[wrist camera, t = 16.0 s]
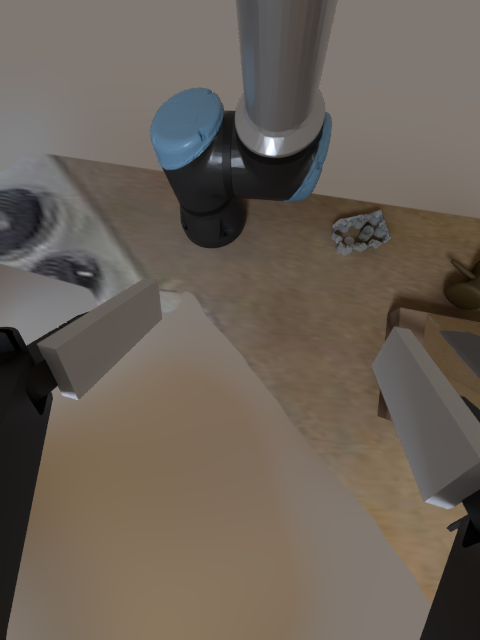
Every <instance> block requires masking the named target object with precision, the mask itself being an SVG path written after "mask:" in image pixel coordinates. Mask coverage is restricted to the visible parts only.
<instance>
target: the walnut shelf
mask: <svg viewBox="0 0 480 640" xmlns="http://www.w3.org/2000/svg"><path fill="white" fill-rule="evenodd" d="M427 314H430V315H436V316H443V315H438V314H433V313H427V312H422V311H416V310H411V309H406V308H398V309H396V310H394V311H392V312H390V313H388V318H387V328H386V338H385V341H386V339H387V338H388V336H389V334H390V332H391V331H392V329H393V327H394V326H395V327H400V328H405V329H410V330H411V331H412V333H413V334H414V335H415V337H416V338H417V339H418V341H419V342H420V343H421V345H422V346H423V341H424V333H425V324H426V316H427ZM443 317H449V316H443ZM449 318H454V317H449ZM454 319H458V320H462V321H466V322H471V323H475V324H477V325H478V326H479V327H480V322H476V321H470V320H465V319H459V318H454ZM378 416H379V417H382V418H385V419H387V420H390V421H393V420H392V418H391V415H390V412H389V410H388V407H387V405H386V402H385V400H384V397H383V394H382V392H381V389H380V397H379V407H378Z"/></svg>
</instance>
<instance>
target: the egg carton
mask: <svg viewBox="0 0 480 640" xmlns="http://www.w3.org/2000/svg"><path fill="white" fill-rule="evenodd" d="M366 222H368V223H369V224H371V225H375V226H376V229H375V230H374V229H373V227H371V226H370V225H366V226H365V227H364V228H363V230H362V231H361V232H360V234H359V236H358V237H359V239H360V240H361V241H364V242H365V241H368V240H369V238H370V237H371V236H372V235H373V234H374V236H376V237H378V238H381V239H382V241H381V243H380V241H377V240H374V239H371V240H370V241H369V243H368V244H367V245H366V244H365V243H364V242H363V243H357V242H356V243H355V244H353V243H354V239H353V238H352V237H350V236H347V237H345V239H344V243H345V244H346V245H344V244H343V243H342V237H341V236H340V235H337V234H335V231H336V230H339V231H340V232H342V233H345V232H347V231H348V230H349V229H350V227H351V226H354V227H355V228H357V229H360V228H362V227H363V226H364V225H365V223H366ZM333 229H335V230H334V232H333V234H332V236H331V238H332V240H336V244H338V243H339V245H338V247H337V249H336V251H337V253H341V254H343V255H344V256H347V255H349V254H351V252H352V250H353V249H355V250H358V251H359V252H362V251H364V250H365V249H367V247H372V246H373V247H374V248H378V247H380V245H381V244H382V243H386V242H387V241H388V240H391V236H389V234H388V232H389V229H387V226H386V223H385V219H383V215H382V212H381V210H379V211H376V212H373V213H370V214H365V215H362V214H361V215H358V216H354V217H350V218H342V219H339V220H338V221H337V222H336V223H335V224H334V225H333Z"/></svg>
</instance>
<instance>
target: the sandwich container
mask: <svg viewBox="0 0 480 640" xmlns="http://www.w3.org/2000/svg"><path fill="white" fill-rule="evenodd" d="M423 347H424V349H425V350H426V352H427V353H428V354H429V356H430V357H431V358H432V360H433V361H434V362H435V364H436V365H437V366H438V368H439V369H440V370H441V372H442V373H443V374H444V376H445V377H446V378H447V380H448V381H449V382H450V384H451V385H452V386H453V388H454V389H455V390H456V392H457V393H458V394H459V396H463V397H466V398H467V399H468V400H469V401H470V402H471V403H473V404H474V405H475V406H476V407H477V408H479V409H480V327H479V326H478V325H477V324H475V323H471V322H466V321H462V320H458V319H454V318H449V317H443V316H436V315H430V314H427V316H426V324H425V333H424V341H423Z"/></svg>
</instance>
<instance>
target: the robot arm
mask: <svg viewBox="0 0 480 640" xmlns="http://www.w3.org/2000/svg"><path fill="white" fill-rule="evenodd" d="M337 1H338V0H236V6H237V18H238V30H239V41H240V53H241V65H242V76H243V87H244V93H243V94H242V96H241V98H240V99H239V102H238V104H237V107H236V111H224V108H223V104H222V103H221V100H220V98H219V97H218V95H217V94H215V93H212V91H211V90H209V89H206V88H192V89H188V90H184V91H182V92H180V93H178V94H176V95H174V96H173V97H171V98H170V99H169V100H168V101H166V102H165V103H164V104H163V105H162V106H161V107H160V108H159V110H158V111H157V112H156V114H155V116H154V118H153V121H152V124H151V129H150V136H151V142H152V145H153V147H154V150H155V152H156V155H157V158H158V162H159V164H160V165H161V167H162V168H163V170H164V172H165V175H166V177H167V179H168V181H169V183H170V185H171V187H172V189H173V191H174V193H175V195H176V197H177V199H178V201H179V203H180V215H181V224H182V227H183V229H184V231H185V233H186V235H187V236H188V238H189V239H190V240H191V241H192V242H193V243H195V244H196V245H198V246H201V247H205V248H218V247H222V246H225V245H227V244H229V243H231V242H232V241H234V240H235V239H236V238H237V237H238V236H239V235H240V233H241V232H242V230H243V228H244V225H245V209H244V205H243V203H242V201H241V199H240V198H246V199H261V200H274V201H283V202H289V201H302V200H304V199H306V198H307V197H309V196H310V194H311V193H312V192H313V190H314V188H315V186H316V184H317V182H318V180H319V177H320V174H321V171H322V165H323V163H324V161H325V158H326V155H327V151H328V147H329V142H330V136H331V127H332V120H331V116H330V114H329V113H327V112H325V103H324V99H323V96H322V93H321V92H320V90H319V83H320V79H321V75H322V69H323V65H324V61H325V56H326V51H327V47H328V42H329V38H330V33H331V28H332V23H333V19H334V14H335V10H336V4H337ZM161 319H162V315H161V304H160V295H159V285H158V280H157V279H152V278H147V277H146V278H144V279H143V280H141V281H139V282H138V283H136V284H134V285H133V286H131V287H129V288H128V289H126V290H125V291H123V292H121V293H120V294H118V295H116V296H115V297H113V298H111V299H110V300H108V301H106V302H105V303H103V304H102V305H100V306H98V307H97V308H95V309H93V310H92V311H90V312H86V313H84V314H81V315H78V316H76V317H74V318H73V319H71V320H69V321H67V323H64V324H62V325H61V326H59V328H56V329H54V330H52V331H50V332H49V333H47V334H45V335H44V336H42V337H41V338H39V339H37V340H35V341H34V342H32V343H30V344H29V345H27V346H26V344H25V343H24V341H23V339H22V337H21V335H20V333H19V331H18V330H17V329H15V328H12V327H0V640H6V635H7V628H8V622H9V617H10V613H11V608H12V603H13V597H14V592H15V587H16V582H17V577H18V572H19V567H20V562H21V556H22V552H23V547H24V542H25V537H26V531H27V527H28V522H29V516H30V511H31V506H32V501H33V496H34V491H35V486H36V481H37V476H38V471H39V466H40V461H41V456H42V450H43V445H44V440H45V435H46V430H47V424H48V420H49V415H50V410H51V405H52V400H53V397H52V393H51V391H52V390H53V389H54V388H56V387H57V386H58V387H59V389H60V391H61V393H62V395H63V396H66V397H69V398H73V399H76V400H79V399H80V398H81V397H82V396H83V395H84V394H85V393H86V392H88V390H90V389H91V388H92V387H93V386H94V385H95V384H96V383H97V382H98V381H99V380H100V379H101V378H102V377H103V376H104V375H105V374H106V373H107V372H108V371H109V370H110V369H111V368H112V367H113V366H114V365H115V364H116V363H117V362H118V361H119V360H120V359H121V358H122V357H123V356H124V355H125V354H126V353H127V352H129V351H130V350H131V349H132V347H134V346H135V345H136V344H137V343H138V342H139V341H140V340H141V339H142V338H143V337H144V336H145V335H146V334H147V333H148V332H149V331H150V330H151V329H152V328H153V327H154V326H155V325H156V324H157V323H158V322H159V321H160V320H161ZM371 366H372V368H373V371H374V374H375V376H376V379H377V381H378V384H379V387H380V389H381V392H382V394H383V397H384V400H385V402H386V405H387V407H388V410H389V412H390V415H391V418H392V420H393V423H394V425H395V428H396V431H397V433H398V436H399V438H400V441H401V444H402V446H403V449H404V451H405V454H406V456H407V459H408V462H409V464H410V467H411V469H412V472H413V475H414V477H415V480H416V482H417V485H418V488H419V490H420V493H421V495H422V498H423V500H424V502H426V503H429V504H433V505H436V506H440V507H443V508H446V509H451V508H453V507H454V506H456V505H457V504H459V503H461V502H462V503H463V505H464V507H465V509H466V511H467V513H468V515H466V516H464V517H463V518H461V519H459V520H457V521H455V522H454V523H452V524H450V525H449V526H448V527H447V529H448V530H449V531H450V532H452V531H453V530H455V529H458V531H457V534H456V537H455V540H454V543H453V546H452V549H451V551H450V554H449V557H448V560H447V563H446V566H445V569H444V572H443V574H442V577H441V580H440V583H439V586H438V589H437V592H436V594H435V597H434V600H433V603H432V606H431V609H430V612H429V615H428V617H427V620H426V624H425V627H424V629H423V632H422V635H421V638H420V640H480V409H479V408H477V407H476V406H475V405H474V404H473V403H471V402H470V401H469V400H468V399H467V398H466V397H463V396H459V394H458V393H457V392H456V390H455V389H454V388H453V386H452V385H451V384H450V382H449V381H448V380H447V378H446V377H445V376H444V374H443V373H442V372H441V370H440V369H439V368H438V366H437V365H436V364H435V362H434V361H433V360H432V358H431V357H430V356H429V354H428V353H427V352H426V350H425V349H424V347H423V346H422V345H421V343H420V342H419V341H418V339H417V338H416V337H415V335H414V334H413V333H412V331H411V330H410V329H405V328H400V327H395V326H394V327H393V329H392V331H391V332H390V334H389V336H388V338H387V339H386V341H385V343H384V345H383V346H382V348H381V350H380V351H379V353H378V355H377V357H376V358H375V360H374V362H373V364H372V365H371Z"/></svg>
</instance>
